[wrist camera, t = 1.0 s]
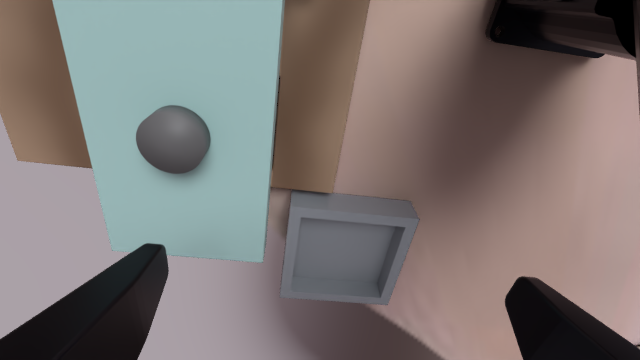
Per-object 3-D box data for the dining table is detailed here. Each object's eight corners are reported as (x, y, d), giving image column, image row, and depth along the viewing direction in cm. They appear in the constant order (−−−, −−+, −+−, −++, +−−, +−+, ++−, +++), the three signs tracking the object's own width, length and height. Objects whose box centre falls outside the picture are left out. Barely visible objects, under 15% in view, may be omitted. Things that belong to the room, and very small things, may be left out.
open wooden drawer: (375, -47, 15) (384, -52, 13) (331, 184, 21) (333, 202, 19) (-64, -126, 13) (-121, -145, 11) (30, 152, 19) (3, 169, 17)
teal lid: (295, -53, 13) (286, -84, 7) (274, 192, 18) (260, 277, 13) (134, -82, 12) (-8, -140, 7) (164, 180, 18) (101, 265, 12)
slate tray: (410, 201, 22) (419, 219, 20) (382, 283, 26) (387, 304, 24) (291, 188, 21) (290, 206, 19) (281, 276, 25) (279, 297, 23)
